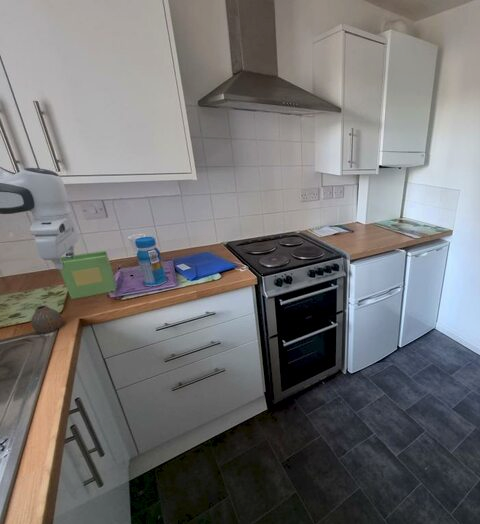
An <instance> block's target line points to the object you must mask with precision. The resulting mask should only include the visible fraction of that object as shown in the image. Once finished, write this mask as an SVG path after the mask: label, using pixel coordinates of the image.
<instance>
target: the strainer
mask: <svg viewBox="0 0 480 524" xmlns="http://www.w3.org/2000/svg"><path fill="white" fill-rule="evenodd" d="M141 237H147V236H146V234H144V233H138V234H133V235H129V236H127V239H128V241H130V244H131V247H132V251H131V253H132V255H134V256H137V252H138V250H139V249H138V248H137V246H136V243H135V240H136V239H138V238H141Z"/></svg>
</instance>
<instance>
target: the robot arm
mask: <svg viewBox="0 0 480 524" xmlns="http://www.w3.org/2000/svg"><path fill="white" fill-rule="evenodd" d="M25 212H31V214H32V217H33V219H32V224H31V226H30V227H29V233H30V235H31V236H34V243H35V246H36V249H37V252H38V254H39V256H40V258H41V259H42V260H43V261H51V262H52V264H54V267H55V269H56V270H60V269H63V268H64V266H65V265H64V262H62V260H61V257H63V255H64V254H65V256H66V258H68V259H69V258H73V257H74V256H75V255H76V254H75V244H76V243H77V242H78V241H79V235H78V231H77V228H76V225H75V221H74V217H73V213H72V210H71V208H70V206H69V196H68V191H67V188H66V186H65V184H64V181H63V179H62V177H61V176H60V175H59V174H58V173H57V172H56V171H53V170H49V169H46V168H39V167H26V168H23V169H21V170H20V171H18V172H14V171H10V170H8V169H6V168H4V167H2V166H0V215H13V214H17V213H18V214H20V213H25Z"/></svg>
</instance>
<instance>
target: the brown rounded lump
mask: <svg viewBox="0 0 480 524" xmlns="http://www.w3.org/2000/svg"><path fill="white" fill-rule="evenodd" d="M30 323H31V327H32V328H33V330H34V331H35V332H36V333H38V334H48V333H51V332H54V331H57V330H59V329H60V328H62V326H63V325H64V319H63V316H62V314H61V313H60V312H59V311H58V310H56V309H53V308H50V307H49V306H48V305H40V306H37V307H36V308H35V311H34V313H33V314H32V316H31V321H30Z"/></svg>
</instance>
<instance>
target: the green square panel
mask: <svg viewBox="0 0 480 524" xmlns="http://www.w3.org/2000/svg"><path fill="white" fill-rule="evenodd" d="M74 255H75V256H74V257H73V258H69V259H68V258H66V255H65V256H61V260H62V262H64V265H65V266H64V268H63V269H59V271H60V273H61V276H62V279H63V282H64V284H65V287H66V289H67V292H68V294H69V297H70V300H76V299H80V298H81V299H82V298H86V297H91V296H97V295H101V294H108V293H112V292H111V291H113V292H117V289H116V288H118V284H117V281H116V278H115V275H114V272H113V269H112V265H111V261H110V259H109V256H108V253H107V251H106V250H102V251H95V252H89V253H88V252H87V253H80V254H74Z"/></svg>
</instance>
